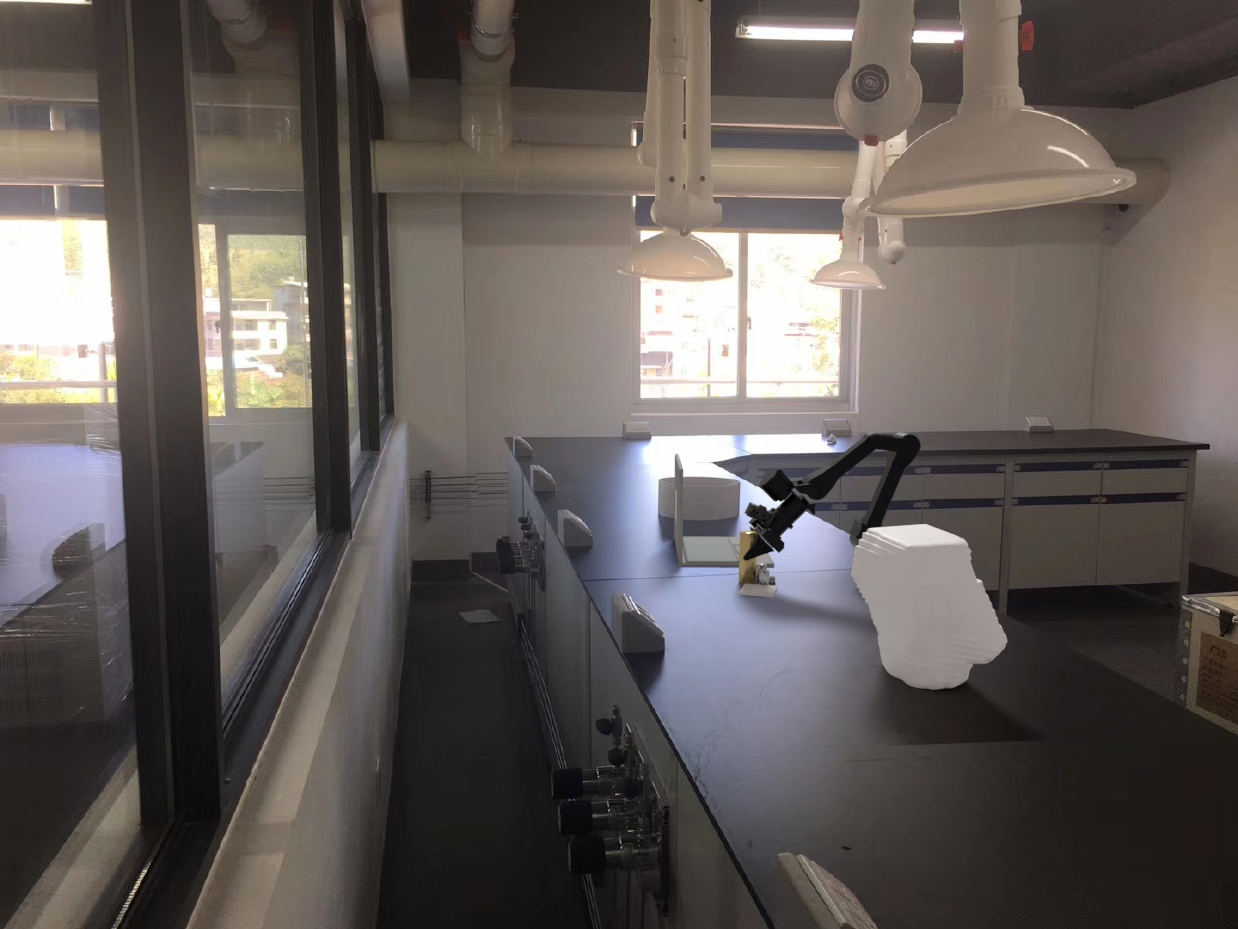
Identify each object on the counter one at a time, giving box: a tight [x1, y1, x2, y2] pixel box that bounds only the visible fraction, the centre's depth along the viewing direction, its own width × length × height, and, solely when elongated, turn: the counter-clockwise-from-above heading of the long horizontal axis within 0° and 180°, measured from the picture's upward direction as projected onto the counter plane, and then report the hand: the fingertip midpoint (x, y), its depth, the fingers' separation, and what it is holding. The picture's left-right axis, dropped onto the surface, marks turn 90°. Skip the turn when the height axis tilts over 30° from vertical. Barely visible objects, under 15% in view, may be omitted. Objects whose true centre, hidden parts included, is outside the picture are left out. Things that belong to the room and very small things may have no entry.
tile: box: [739, 583, 778, 598], centre depth 227 cm, size 8×8×1 cm
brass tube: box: [738, 530, 757, 585], centre depth 235 cm, size 4×4×13 cm
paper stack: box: [850, 523, 1008, 691], centre depth 168 cm, size 21×27×26 cm
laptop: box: [673, 453, 775, 568], centre depth 268 cm, size 35×26×27 cm
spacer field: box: [756, 563, 776, 585], centre depth 236 cm, size 8×10×4 cm
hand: (742, 557), depth 234 cm, fingers closed on brass tube, 4 cm apart
